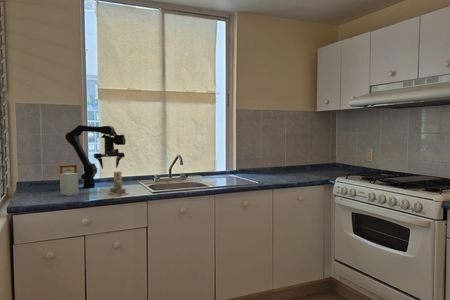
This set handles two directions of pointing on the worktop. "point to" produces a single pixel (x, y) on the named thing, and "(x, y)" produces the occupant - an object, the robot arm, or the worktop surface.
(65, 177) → the supplement box
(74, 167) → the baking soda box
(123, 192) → the balance ridge
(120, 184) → the beech dowel
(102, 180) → the worktop surface
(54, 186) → the worktop surface
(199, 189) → the worktop surface
